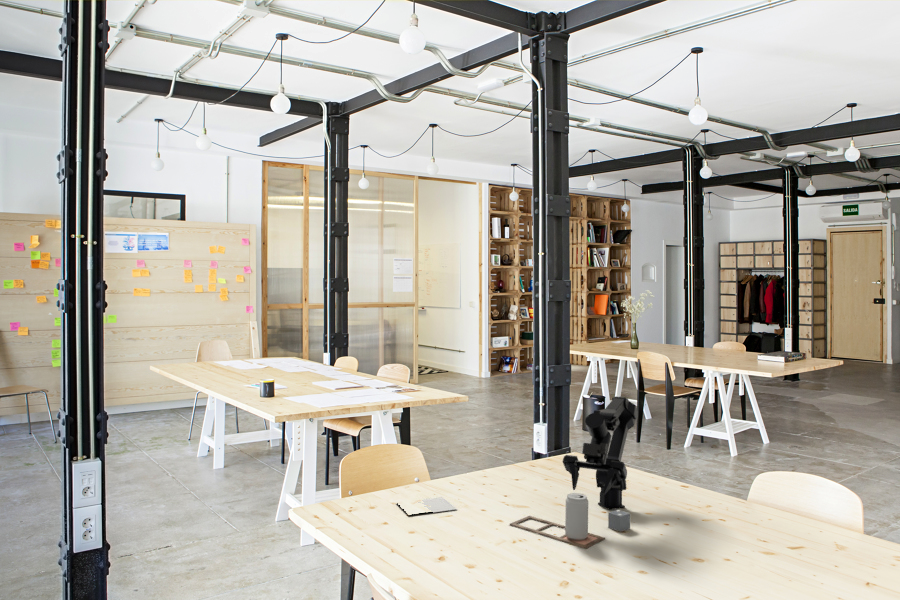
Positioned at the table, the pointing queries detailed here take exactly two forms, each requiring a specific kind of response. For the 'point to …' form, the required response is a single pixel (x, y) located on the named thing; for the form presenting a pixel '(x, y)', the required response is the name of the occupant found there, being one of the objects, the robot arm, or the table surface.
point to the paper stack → (438, 504)
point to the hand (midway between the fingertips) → (588, 491)
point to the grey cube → (619, 520)
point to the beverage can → (576, 516)
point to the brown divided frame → (584, 543)
